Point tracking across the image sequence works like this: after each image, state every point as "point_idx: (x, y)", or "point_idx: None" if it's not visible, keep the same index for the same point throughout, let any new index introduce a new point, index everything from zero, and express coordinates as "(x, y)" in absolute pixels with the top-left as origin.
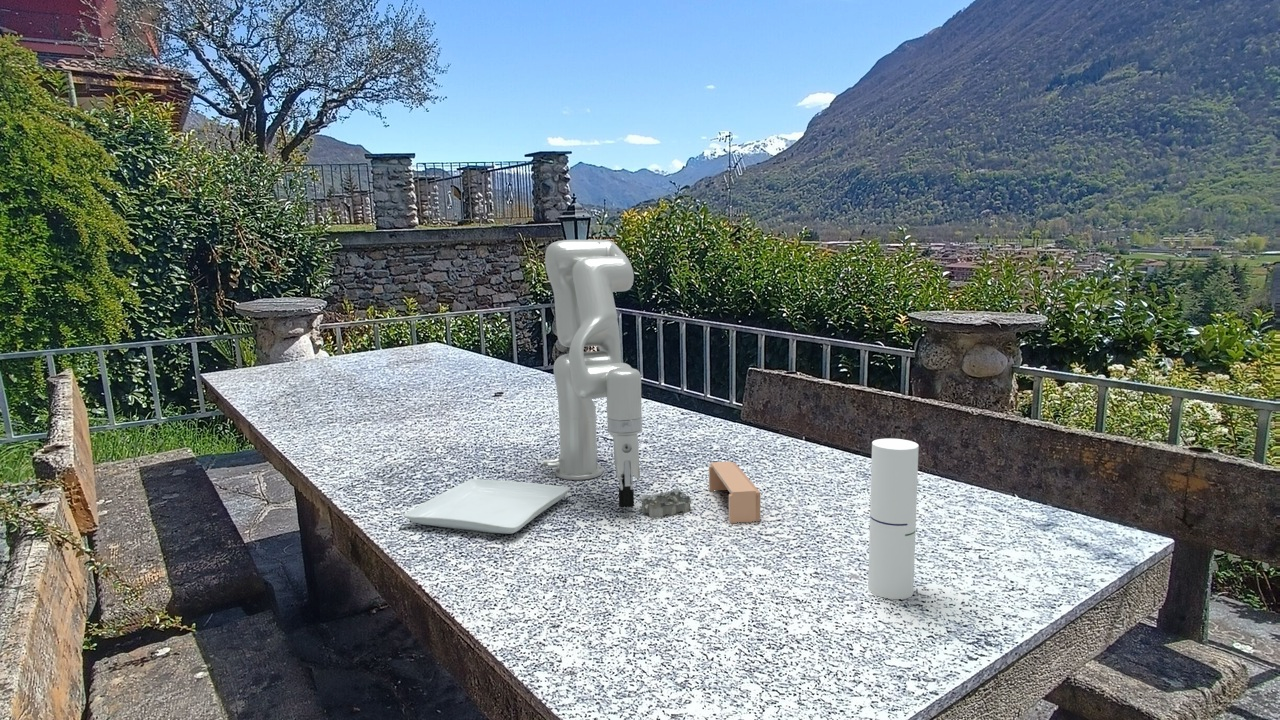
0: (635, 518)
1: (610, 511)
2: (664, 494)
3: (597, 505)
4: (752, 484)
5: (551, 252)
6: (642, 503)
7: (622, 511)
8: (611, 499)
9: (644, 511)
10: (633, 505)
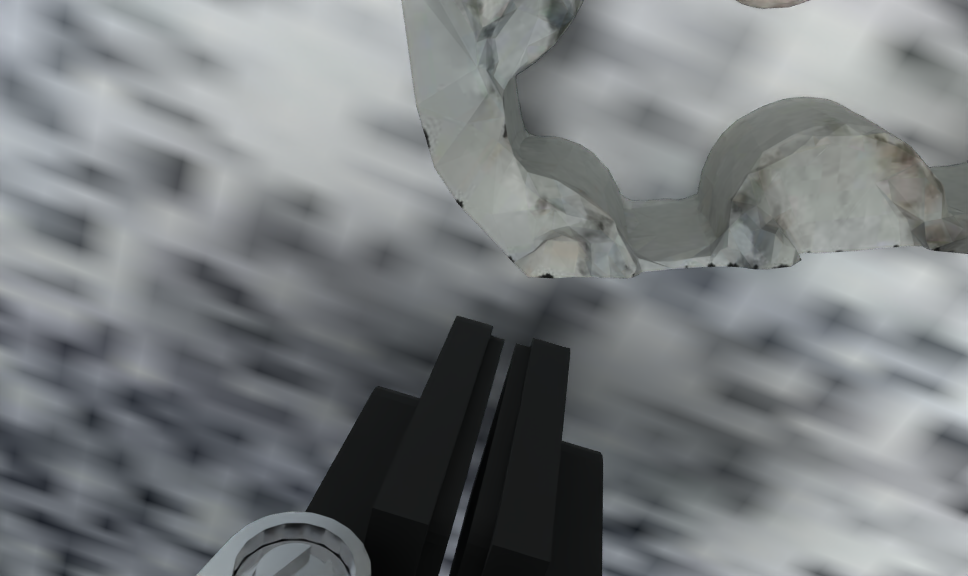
0: (846, 385)
1: None
2: None
3: (207, 562)
4: None
5: None
6: (672, 255)
7: None
8: (30, 374)
9: (700, 190)
10: (565, 354)
